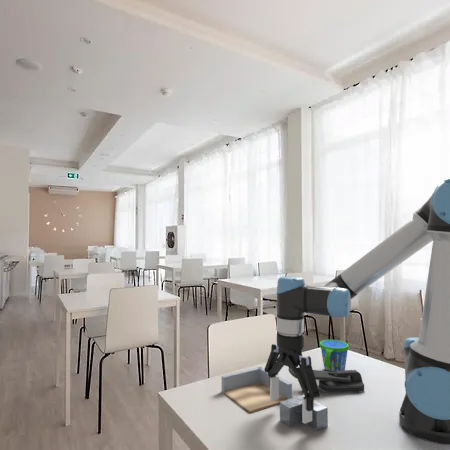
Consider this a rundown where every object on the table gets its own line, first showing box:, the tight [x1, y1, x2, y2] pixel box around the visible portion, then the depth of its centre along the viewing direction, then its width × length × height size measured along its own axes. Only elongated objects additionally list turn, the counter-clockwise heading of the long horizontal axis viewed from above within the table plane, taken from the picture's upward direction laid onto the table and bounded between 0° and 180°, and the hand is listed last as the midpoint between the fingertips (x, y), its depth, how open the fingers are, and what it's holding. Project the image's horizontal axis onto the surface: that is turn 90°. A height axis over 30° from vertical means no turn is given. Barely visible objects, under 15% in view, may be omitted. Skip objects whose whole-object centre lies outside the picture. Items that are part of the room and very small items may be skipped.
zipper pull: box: [288, 367, 365, 394], centre depth 114 cm, size 9×7×25 cm
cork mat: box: [223, 382, 288, 414], centre depth 108 cm, size 15×14×1 cm
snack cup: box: [319, 339, 350, 372], centre depth 130 cm, size 16×10×10 cm
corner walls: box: [221, 366, 293, 399], centre depth 109 cm, size 16×16×5 cm
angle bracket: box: [279, 394, 329, 432], centre depth 92 cm, size 9×9×5 cm
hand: (289, 410), depth 94 cm, fingers open, 13 cm apart
